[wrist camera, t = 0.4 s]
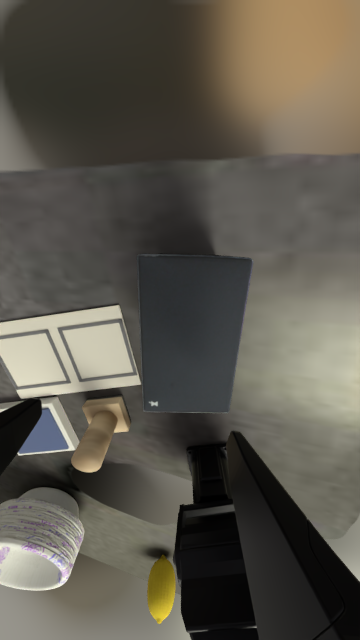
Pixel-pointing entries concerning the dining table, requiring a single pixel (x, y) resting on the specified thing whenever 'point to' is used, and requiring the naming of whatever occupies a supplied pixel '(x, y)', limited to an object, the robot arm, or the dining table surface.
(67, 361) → the print sheet
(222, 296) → the small box
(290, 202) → the dining table surface
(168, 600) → the lemon
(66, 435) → the ink pad
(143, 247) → the dining table surface
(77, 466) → the stamp
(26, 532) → the paper bowls
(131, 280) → the dining table surface
